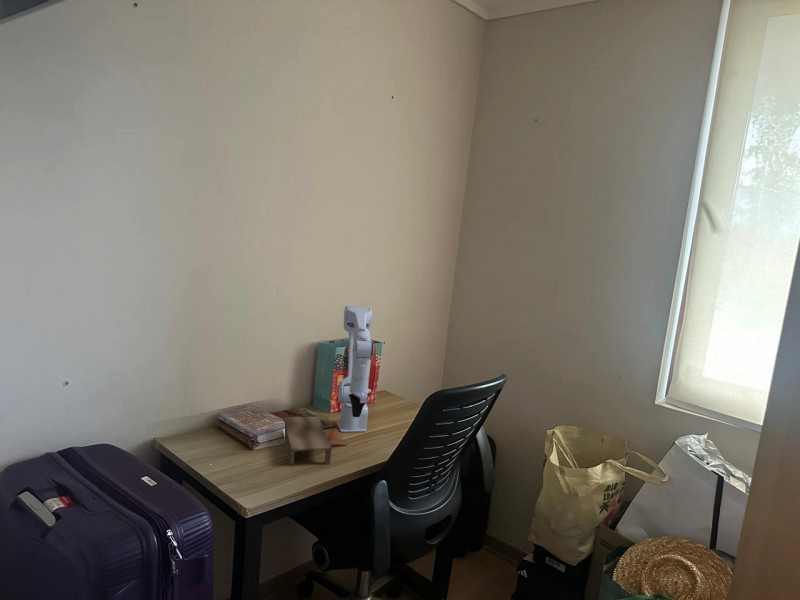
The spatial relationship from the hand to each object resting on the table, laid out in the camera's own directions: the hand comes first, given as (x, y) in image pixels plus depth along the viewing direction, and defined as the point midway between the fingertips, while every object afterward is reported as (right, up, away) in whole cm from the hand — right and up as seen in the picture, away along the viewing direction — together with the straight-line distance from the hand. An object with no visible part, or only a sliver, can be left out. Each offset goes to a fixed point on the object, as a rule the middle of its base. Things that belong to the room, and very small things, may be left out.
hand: (356, 416), depth 181 cm
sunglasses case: (-12, -10, 0) cm, 16 cm away
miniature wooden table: (-16, -9, -3) cm, 19 cm away
